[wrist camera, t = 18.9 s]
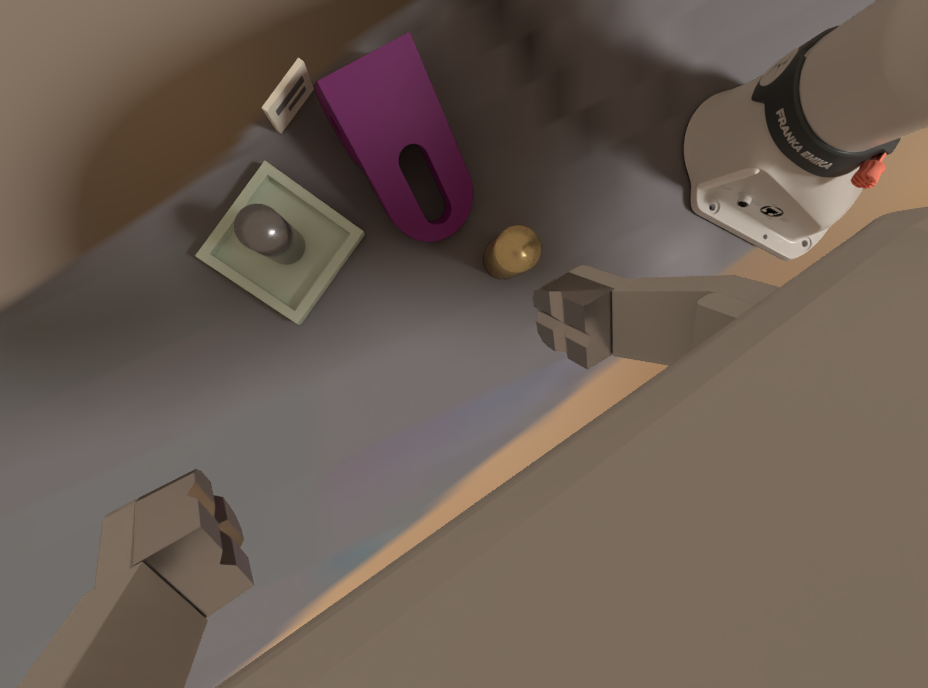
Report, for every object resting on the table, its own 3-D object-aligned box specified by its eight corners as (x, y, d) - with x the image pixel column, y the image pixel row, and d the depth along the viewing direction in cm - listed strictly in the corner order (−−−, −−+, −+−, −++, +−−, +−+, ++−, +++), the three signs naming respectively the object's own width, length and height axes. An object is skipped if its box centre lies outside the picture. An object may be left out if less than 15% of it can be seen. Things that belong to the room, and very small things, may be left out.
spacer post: (313, 244, 47) (292, 225, 38) (288, 272, 47) (261, 260, 38) (283, 218, 47) (255, 193, 38) (257, 247, 47) (223, 228, 38)
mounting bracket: (459, 203, 56) (390, 46, 46) (486, 214, 49) (410, 31, 39) (395, 241, 55) (310, 88, 45) (412, 257, 48) (316, 80, 38)
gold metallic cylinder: (529, 254, 51) (549, 243, 44) (507, 286, 51) (523, 281, 44) (498, 230, 51) (513, 215, 44) (475, 263, 50) (487, 253, 44)
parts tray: (365, 234, 49) (363, 231, 47) (301, 324, 48) (297, 324, 46) (270, 166, 47) (264, 160, 45) (202, 258, 46) (194, 255, 45)
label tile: (314, 89, 47) (304, 62, 42) (281, 134, 47) (267, 112, 42) (309, 85, 47) (298, 57, 42) (275, 130, 47) (261, 107, 42)
